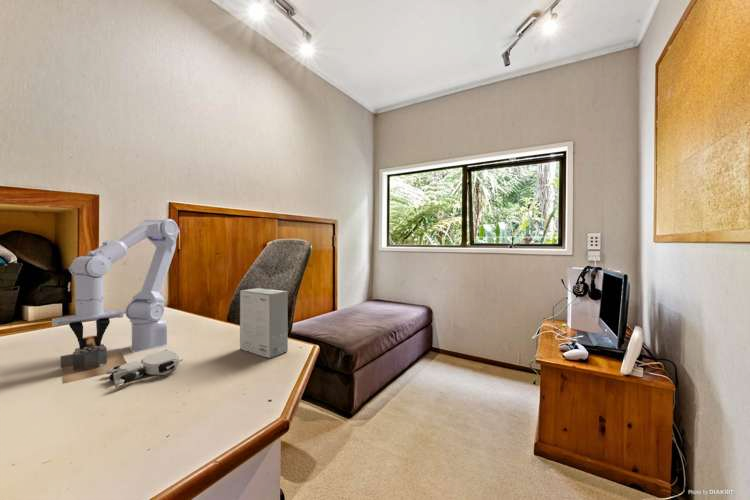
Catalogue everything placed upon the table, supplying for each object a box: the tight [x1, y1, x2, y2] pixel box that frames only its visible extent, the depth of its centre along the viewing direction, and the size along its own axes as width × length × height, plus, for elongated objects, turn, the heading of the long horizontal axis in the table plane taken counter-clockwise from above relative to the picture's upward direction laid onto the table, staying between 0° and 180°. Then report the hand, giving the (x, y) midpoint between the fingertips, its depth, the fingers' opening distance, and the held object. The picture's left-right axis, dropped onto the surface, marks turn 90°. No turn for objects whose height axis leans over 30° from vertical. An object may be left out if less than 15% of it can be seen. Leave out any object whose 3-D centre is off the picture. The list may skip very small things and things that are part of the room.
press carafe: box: [60, 343, 108, 371], centre depth 85 cm, size 9×7×5 cm
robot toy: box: [105, 348, 184, 386], centre depth 81 cm, size 12×4×15 cm
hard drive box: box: [239, 287, 289, 359], centre depth 101 cm, size 16×8×20 cm, turn 58°
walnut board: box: [61, 351, 127, 385], centre depth 86 cm, size 13×18×1 cm
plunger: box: [83, 335, 97, 350], centre depth 86 cm, size 5×5×7 cm
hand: (90, 347), depth 86 cm, fingers closed on plunger, 3 cm apart
